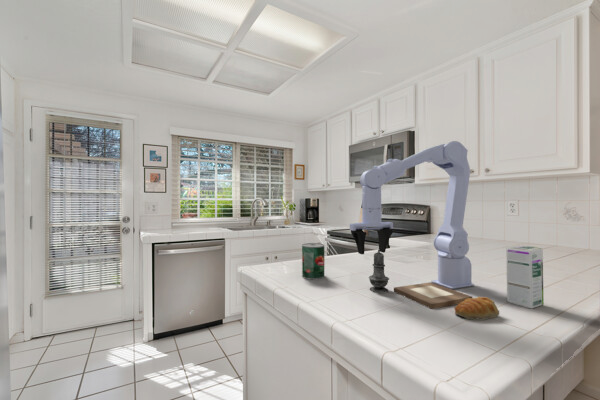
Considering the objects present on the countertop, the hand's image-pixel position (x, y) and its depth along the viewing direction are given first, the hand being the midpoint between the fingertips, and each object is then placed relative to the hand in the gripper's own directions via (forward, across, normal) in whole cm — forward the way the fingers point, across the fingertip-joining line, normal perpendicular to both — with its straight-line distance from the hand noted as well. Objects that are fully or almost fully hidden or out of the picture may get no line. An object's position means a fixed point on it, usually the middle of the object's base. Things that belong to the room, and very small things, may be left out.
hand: (371, 252), depth 89 cm
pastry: (+11, -10, +27) cm, 31 cm away
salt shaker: (+11, 0, +4) cm, 11 cm away
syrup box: (+11, -28, +26) cm, 40 cm away
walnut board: (+10, -10, +13) cm, 20 cm away
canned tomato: (+11, +12, -17) cm, 24 cm away
